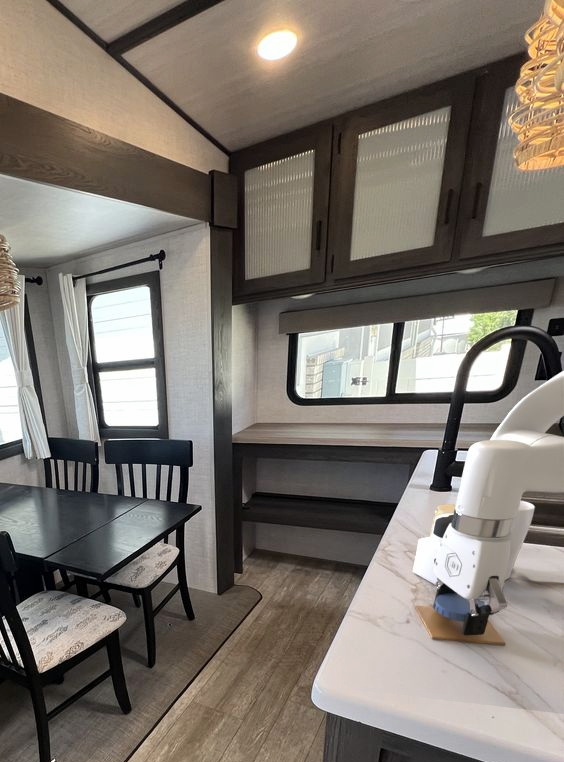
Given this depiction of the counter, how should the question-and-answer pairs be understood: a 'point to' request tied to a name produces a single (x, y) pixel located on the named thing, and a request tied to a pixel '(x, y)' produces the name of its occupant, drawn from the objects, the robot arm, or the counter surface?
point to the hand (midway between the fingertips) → (457, 620)
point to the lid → (453, 606)
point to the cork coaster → (454, 628)
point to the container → (431, 549)
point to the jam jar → (440, 511)
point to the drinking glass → (519, 532)
